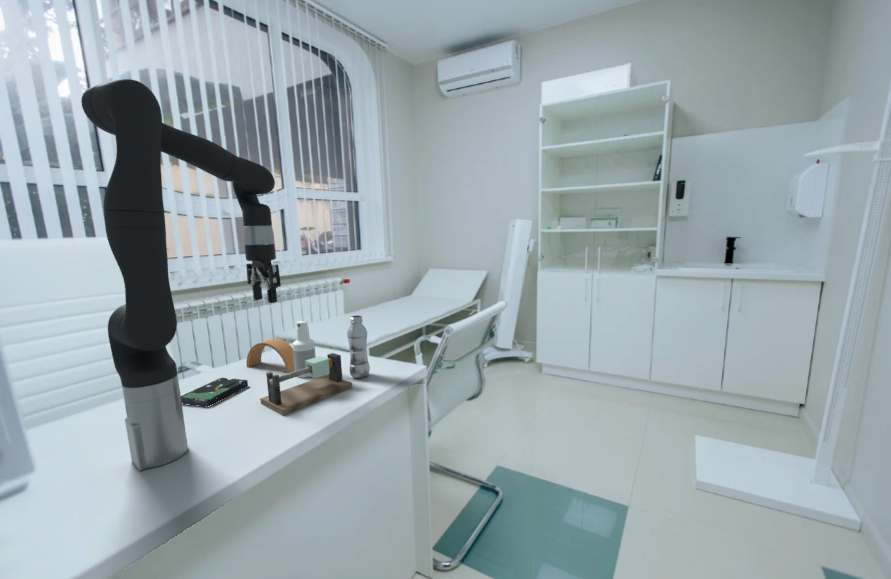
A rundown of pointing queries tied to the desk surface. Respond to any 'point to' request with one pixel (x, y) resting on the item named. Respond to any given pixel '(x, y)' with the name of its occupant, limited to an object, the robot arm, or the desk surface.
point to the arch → (278, 346)
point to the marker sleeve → (318, 366)
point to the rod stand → (304, 388)
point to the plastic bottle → (358, 348)
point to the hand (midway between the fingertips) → (265, 301)
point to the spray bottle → (303, 347)
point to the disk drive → (213, 392)
